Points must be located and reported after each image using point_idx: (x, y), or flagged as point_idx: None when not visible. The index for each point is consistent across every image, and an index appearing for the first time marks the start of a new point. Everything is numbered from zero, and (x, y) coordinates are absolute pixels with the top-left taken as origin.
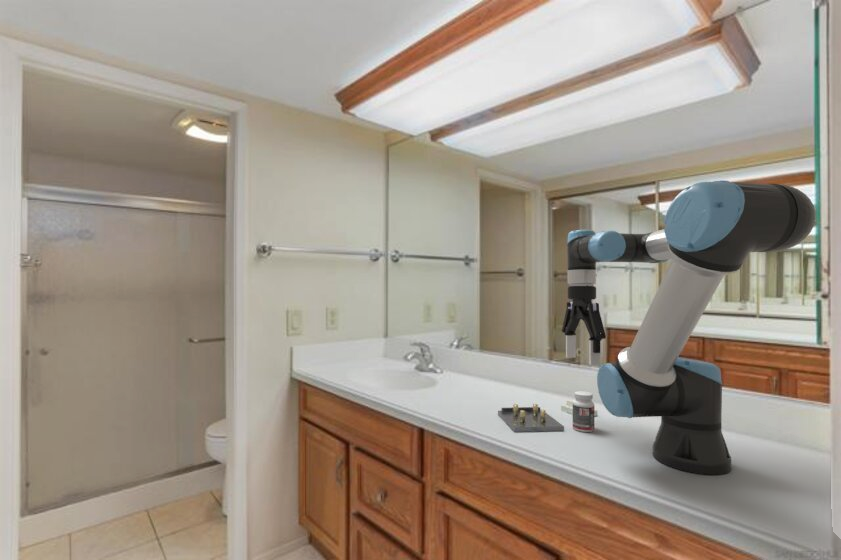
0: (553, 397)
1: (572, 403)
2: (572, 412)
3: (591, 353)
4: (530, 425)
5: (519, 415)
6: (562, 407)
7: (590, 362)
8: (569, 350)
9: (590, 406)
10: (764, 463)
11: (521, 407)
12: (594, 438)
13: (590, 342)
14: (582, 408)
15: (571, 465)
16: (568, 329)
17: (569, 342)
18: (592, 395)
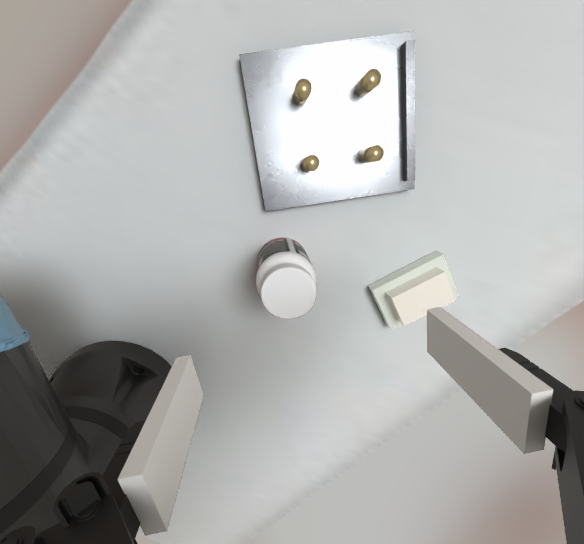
0: (559, 263)
1: (422, 281)
2: (401, 271)
3: (156, 404)
4: (264, 114)
5: (359, 101)
6: (436, 255)
7: (176, 365)
8: (450, 342)
9: (258, 292)
10: None
11: (413, 117)
12: (219, 266)
13: (128, 463)
14: (257, 269)
15: (26, 158)
16: (574, 453)
17: (486, 374)
18: (277, 315)
